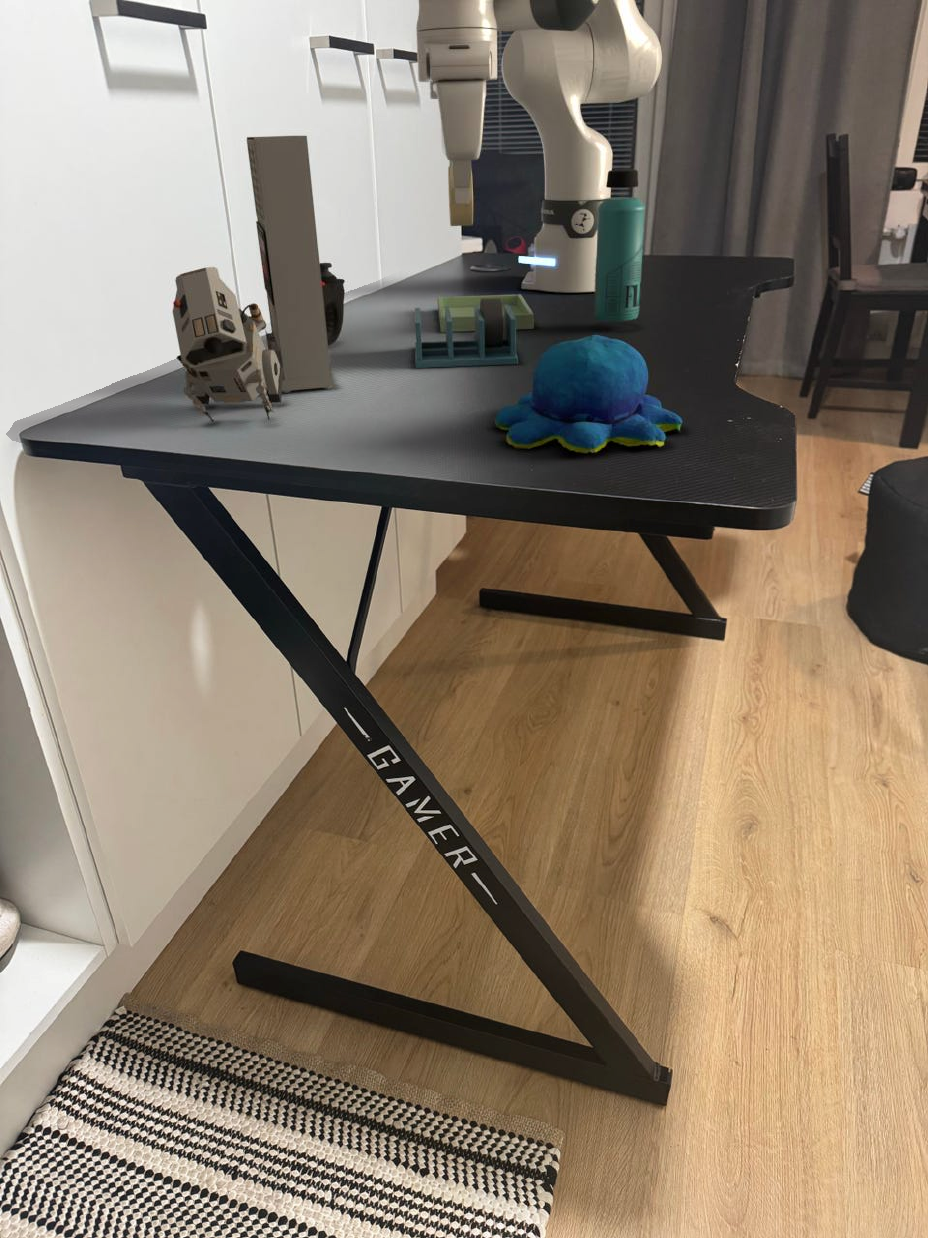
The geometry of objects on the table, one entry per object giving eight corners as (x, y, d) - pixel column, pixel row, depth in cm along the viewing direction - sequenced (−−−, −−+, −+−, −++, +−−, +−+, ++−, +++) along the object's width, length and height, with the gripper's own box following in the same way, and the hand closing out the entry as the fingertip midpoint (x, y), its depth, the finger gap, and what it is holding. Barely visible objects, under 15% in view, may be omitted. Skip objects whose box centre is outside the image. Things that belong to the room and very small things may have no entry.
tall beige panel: (269, 366, 110) (238, 137, 97) (318, 362, 111) (294, 135, 99) (278, 394, 98) (244, 137, 86) (333, 389, 99) (308, 135, 87)
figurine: (193, 451, 92) (143, 352, 78) (203, 363, 96) (158, 256, 83) (280, 449, 92) (246, 349, 78) (287, 361, 96) (255, 253, 83)
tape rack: (415, 348, 116) (413, 307, 114) (509, 344, 117) (509, 303, 114) (415, 368, 107) (413, 323, 104) (517, 364, 107) (518, 319, 105)
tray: (438, 310, 140) (437, 297, 139) (520, 307, 140) (520, 294, 140) (440, 332, 125) (440, 317, 124) (533, 328, 125) (533, 314, 125)
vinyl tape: (480, 345, 114) (479, 296, 111) (499, 344, 114) (498, 295, 111) (484, 353, 109) (483, 301, 106) (503, 352, 109) (503, 300, 106)
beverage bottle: (625, 334, 121) (634, 169, 111) (582, 329, 124) (588, 169, 114) (647, 325, 125) (658, 167, 115) (605, 321, 129) (613, 167, 119)
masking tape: (449, 221, 109) (447, 163, 105) (470, 220, 109) (469, 162, 105) (451, 230, 103) (449, 169, 100) (473, 229, 103) (472, 168, 100)
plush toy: (645, 467, 74) (653, 366, 70) (467, 442, 81) (464, 349, 77) (699, 414, 87) (708, 326, 83) (540, 396, 94) (542, 315, 90)
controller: (353, 337, 124) (347, 260, 119) (315, 357, 113) (306, 274, 108) (325, 336, 125) (318, 260, 120) (284, 355, 114) (274, 274, 110)
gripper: (427, 67, 107) (432, 194, 113) (430, 58, 89) (435, 209, 96) (480, 66, 107) (481, 192, 114) (492, 57, 89) (493, 207, 96)
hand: (460, 200), depth 105 cm, fingers closed on masking tape, 6 cm apart
